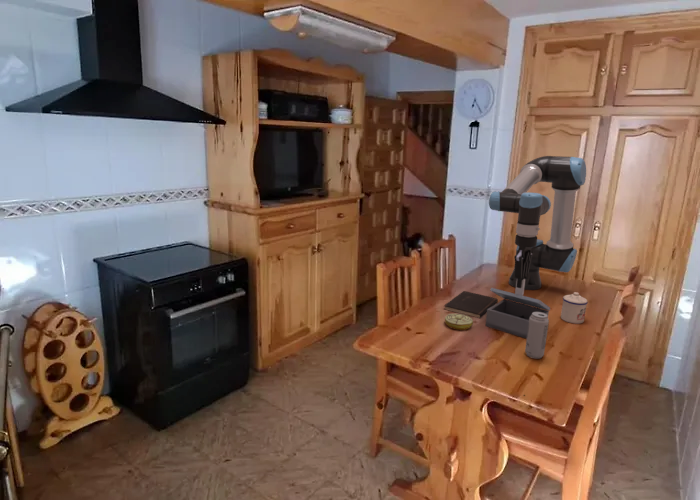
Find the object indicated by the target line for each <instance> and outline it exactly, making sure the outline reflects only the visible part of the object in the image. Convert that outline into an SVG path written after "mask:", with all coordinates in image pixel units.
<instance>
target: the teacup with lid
mask: <svg viewBox="0 0 700 500" xmlns="http://www.w3.org/2000/svg"><path fill="white" fill-rule="evenodd" d="M587 304H588V299H586V297H583V296H582V295H580V293H579V292H578V291H577V292H576V291H574V292H572V293H571V294H566V295H564V296H563V297H562V304H561V305H562V307H561V312H560V318H561V319H562V320H563V321H564V322H567V323H571V324H583V323H584V321H585V316H586V312H587V311H586V310H587Z"/></svg>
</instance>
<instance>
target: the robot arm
mask: <svg viewBox="0 0 700 500" xmlns="http://www.w3.org/2000/svg"><path fill="white" fill-rule="evenodd" d="M586 177H587V165H586V161H585V160H584V158H581V157H575V156H561V155H560V156H557V155H556V156H554V155H544V156H539V157H537V158H535V159H532V160H530V161H528V162H527V163H525V164H524V165H523V166H522V167H521V169H520V171H519V174H517V176H515V178H514V179H513V180H512V181H511V182H510V183H509V184H508V185H506V187H505V188H504V189H503V190H502V191H493V192H492V193H491V194H490V195H489V197H488V198H489V199H488V206H489V209H490V210H492V211H496V212H505V213H512V214H518V215H517V223H516V229H515V230H516V231H515V233H516V235H515V240H514V244H515V245H516V249H515V255H514V258H513V259H514V267H513V270H512V273H511V274H510V276H509V278H508V285H510V286H512V287H514V288H515V291H514V294H518V295H522V296H524V293H525V291H527V290H529V291H530V290H531V291H534V290H535V291H536V290H540V289H541V287H542V279H541V275H540V268H541V269H545V270H550V271H554V272H555V271H556V272H558V273H569V272H570V271H571V270H572V268H573V267H574V263H575V261H576V259H577V254H578V253H577V252H578V250H577V249H576V248H574V243H573V242H572V241H571V237H572V229H573V222H574V221H573V219H574V212H575V203H576V193H577V192H578V191H579V190H580V189H581V186H583V185H585V183H586ZM540 182H541V183H551V189H552V190H553V191H554V195H553V196H554V197H553V204H552V202H551V199H550V198H549V197H548V196H546V195H544V194H543V195H542V194H541V193H539V192H528V191H529V190H531V188H532V187H533V186H534V185H536V184H538V183H540ZM552 205H553V207H552ZM551 207H552V216H551V228H550V229H551V230H550V239H549V240H547V241H546V243H544V240H542V239H538V236H537V235H538V233H539V231H540V230H541V229H540V227H539V226H540V220H541V216H544V215H545V214H547V213H548V212H549V210H550V209H551Z"/></svg>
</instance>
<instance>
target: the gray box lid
mask: <svg viewBox="0 0 700 500" xmlns="http://www.w3.org/2000/svg"><path fill="white" fill-rule="evenodd" d="M490 292H492V293H494V294H496V295H497V296H499V297H500V298H502V299H506V300H510V301H514V302H517V303H521V304H525V305H529V306H532V307H536V308H540V309H544V310H547V311H549V312H550V311H551V307H550V306H549V305H547V304H546V303H545V302H543V301H542V300H540V299H537V298H533V297H529V296H526V295H523V296H522V295H518V294H515V292H514V293H513V292H510V291H505V290H502V289H498V288H494V287H491V288H490Z"/></svg>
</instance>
